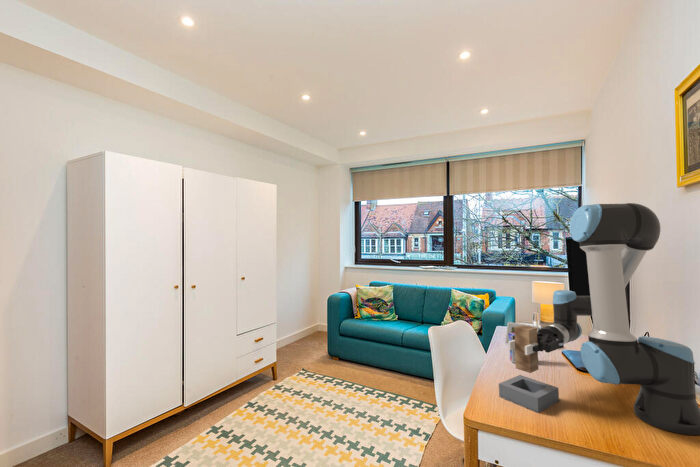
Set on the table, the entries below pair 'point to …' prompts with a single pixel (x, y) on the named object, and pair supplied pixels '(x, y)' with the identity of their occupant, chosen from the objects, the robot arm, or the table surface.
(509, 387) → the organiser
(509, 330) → the digital clock
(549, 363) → the table surface
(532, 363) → the walnut block
